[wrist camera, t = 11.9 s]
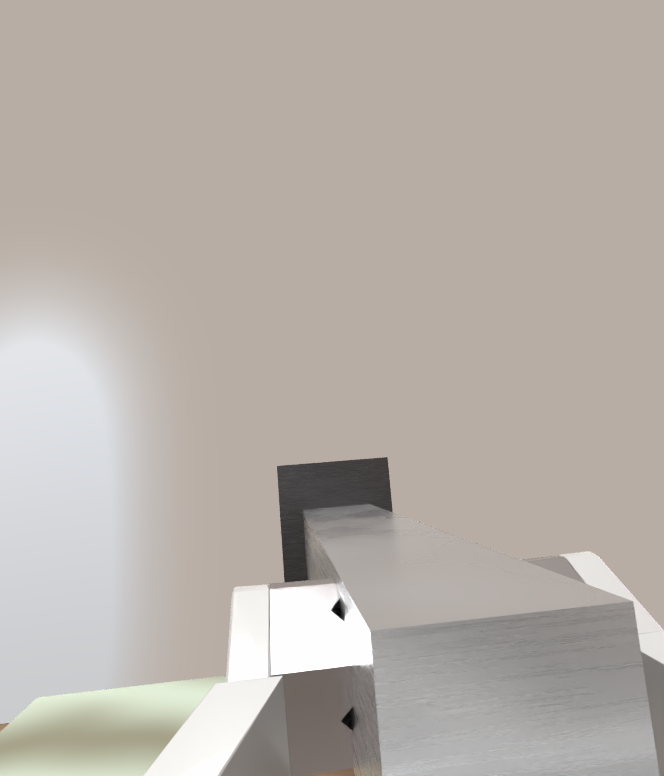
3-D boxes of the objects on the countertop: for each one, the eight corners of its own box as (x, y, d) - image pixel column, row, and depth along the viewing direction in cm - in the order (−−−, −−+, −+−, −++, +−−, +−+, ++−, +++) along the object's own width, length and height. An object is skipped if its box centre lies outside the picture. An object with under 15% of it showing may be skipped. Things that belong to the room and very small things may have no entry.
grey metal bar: (765, 884, 5) (684, 418, 5) (295, 965, 4) (263, 449, 5) (370, 547, 25) (363, 460, 26) (283, 556, 25) (278, 467, 26)
